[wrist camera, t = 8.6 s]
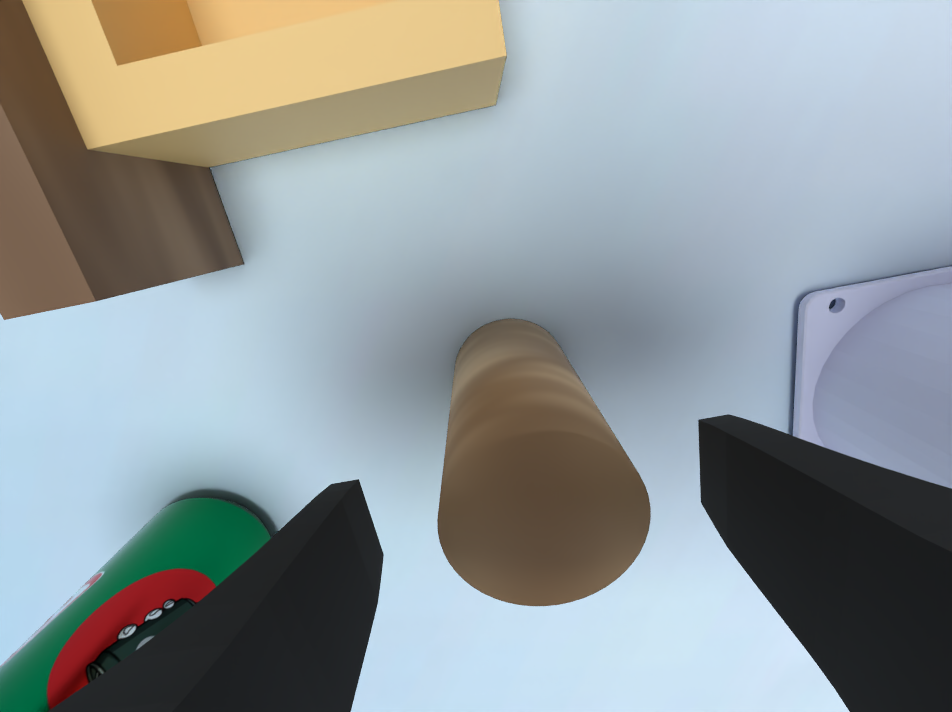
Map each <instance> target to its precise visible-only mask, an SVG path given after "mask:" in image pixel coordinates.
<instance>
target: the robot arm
mask: <svg viewBox="0 0 952 712" xmlns="http://www.w3.org/2000/svg"><path fill="white" fill-rule="evenodd" d="M833 299H836V303H835V306H834V307H833V308H832V309H830V310H829V305H830V302H831V301H832V300H833ZM698 422H699V454H700V486H701V503H702V505H703V507H704V508H705V510H706V512H707V514H708V515H709V517H710V519H711V521H712V522H713V524H714V526H715V528H716V529H717V531H718V532H719V534H720V536H721V537H722V539H723V541H724V542H725V544H726V546H727V547H728V548H729V550H730V551H731V553H732V554H733V555H734V557H735V558H736V559H737V561H738V562H739V563H740V564H741V566H742V567H743V568H744V570H745V571H746V572H747V574H748V575H749V576H750V578H751V579H752V580H753V582H754V583H755V584H756V585H757V587H758V588H759V589H760V591H761V592H762V593H763V595H764V596H765V597H766V598H767V600H768V601H769V602H770V604H771V605H772V606H773V607H774V609H775V610H776V611H777V613H778V614H779V615H780V616H781V618H782V619H783V620H784V622H785V623H786V624H787V626H788V627H789V628H790V629H791V631H792V632H793V633H794V635H795V636H796V637H797V638H798V640H799V641H800V642H801V644H802V645H803V646H804V648H805V649H806V650H807V651H808V653H809V654H810V655H811V657H812V658H813V659H814V661H815V662H816V663H817V665H818V666H819V668H820V669H821V670H822V672H823V673H824V674H825V676H826V677H827V679H828V680H829V681H830V683H831V684H832V686H833V687H834V688H835V690H836V691H837V693H838V694H839V696H840V697H841V699H842V701H843V702H844V704H845V705H846V707H847V708H848V710H849V711H850V712H952V266H950V267H944V268H939V269H934V270H928V271H923V272H918V273H912V274H907V275H901V276H896V277H891V278H885V279H880V280H875V281H869V282H864V283H858V284H853V285H848V286H842V287H837V288H832V289H826V290H821V291H815V292H812V293H810V294H808V295H807V296H805V297H804V298H803V300H802V301H801V303H800V305H799V312H798V334H797V356H796V377H795V399H794V420H793V436H792V435H789V434H786V433H783V432H781V431H778V430H775V429H772V428H770V427H767V426H764V425H761V424H758V423H755V422H752V421H749V420H746V419H743V418H740V417H736V416H732V415H723V416H717V417H712V418H706V419H700V420H698ZM382 565H383V552H382V549H381V546H380V542H379V539H378V536H377V533H376V530H375V527H374V524H373V521H372V518H371V515H370V512H369V509H368V506H367V503H366V500H365V497H364V494H363V491H362V488H361V485H360V482H359V479H358V480H352V481H347V482H341V483H335V484H331V485H330V486H328V487H327V488H326V489H325V490H323V491H322V492H321V493H320V494H319V495H317V496H316V497H315V498H314V499H313V500H312V501H311V502H310V503H309V504H307V505H306V506H305V507H304V508H303V509H302V510H301V511H300V512H299V513H298V514H297V515H296V516H295V517H294V518H292V519H291V520H290V521H289V522H288V523H287V524H286V525H285V526H284V527H283V528H282V529H281V530H280V531H278V532H277V533H276V534H275V535H274V536H273V537H272V538H271V539H270V540H269V541H268V542H267V543H265V544H264V545H263V546H262V547H261V548H260V549H259V550H258V551H257V552H256V553H255V554H253V555H252V556H251V557H250V558H249V559H248V560H247V561H245V562H244V563H243V564H242V565H241V566H240V567H239V568H237V569H236V570H235V571H234V572H233V573H232V574H230V575H229V576H228V577H227V578H226V579H225V580H224V581H222V582H221V583H220V584H219V585H218V586H217V587H215V588H214V589H213V590H212V591H211V592H210V593H209V594H207V595H206V596H205V597H204V598H203V599H201V600H200V601H199V602H198V603H196V604H195V605H194V606H193V607H192V608H190V609H189V610H188V611H187V612H185V613H184V614H183V615H182V616H180V617H179V618H178V619H177V620H175V621H174V622H173V623H171V624H170V625H169V626H167V627H166V628H165V629H163V630H162V631H161V632H160V633H158V634H157V635H156V636H154V637H153V638H152V639H150V640H149V641H148V642H146V643H145V644H144V645H142V646H141V647H140V648H138V649H137V650H136V651H134V652H133V653H132V654H130V655H129V656H127V657H126V658H125V659H123V660H122V661H120V662H119V663H118V664H116V665H115V666H113V667H112V668H110V669H109V670H107V671H106V672H104V673H103V674H102V675H100V676H99V677H97V678H96V679H94V680H93V681H91V682H90V683H88V684H87V685H86V686H84V687H83V688H81V689H80V690H78V691H77V692H75V693H74V694H72V695H71V696H70V697H68V698H67V699H65V700H64V701H62V702H61V703H59V704H58V705H56V706H55V707H54V708H52V709H51V710H49V711H48V712H350V711H351V708H352V704H353V700H354V696H355V692H356V688H357V684H358V680H359V676H360V672H361V668H362V664H363V660H364V656H365V653H366V649H367V645H368V641H369V637H370V633H371V628H372V624H373V620H374V616H375V612H376V608H377V604H378V597H379V590H380V582H381V574H382Z"/></svg>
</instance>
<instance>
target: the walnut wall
mask: <svg viewBox="0 0 952 712" xmlns="http://www.w3.org/2000/svg"><path fill="white" fill-rule="evenodd" d="M243 264H244V263H243V260H242V257H241V255H240V252H239V249H238V246H237V244H236V241H235V238H234V235H233V232H232V230H231V227H230V224H229V221H228V219H227V216H226V213H225V210H224V208H223V205H222V202H221V199H220V196H219V194H218V191H217V188H216V185H215V183H214V180H213V177H212V174H211V172H210V169H209V167H202V166H195V165H189V164H182V163H175V162H168V161H162V160H155V159H148V158H142V157H135V156H128V155H121V154H115V153H108V152H101V151H95V150H88V149H87V147H86V145H85V143H84V140H83V138H82V136H81V134H80V131H79V129H78V127H77V124H76V122H75V120H74V118H73V115H72V113H71V111H70V108H69V106H68V104H67V102H66V99H65V97H64V95H63V93H62V90H61V88H60V86H59V83H58V81H57V79H56V77H55V74H54V72H53V70H52V67H51V65H50V63H49V61H48V58H47V56H46V54H45V52H44V49H43V47H42V45H41V42H40V40H39V38H38V36H37V33H36V31H35V29H34V26H33V24H32V22H31V20H30V17H29V15H28V13H27V11H26V8H25V6H24V4H23V1H22V0H0V313H1V315H2V317H3V319H4V320H6V319H11V318H16V317H21V316H26V315H31V314H35V313H40V312H45V311H50V310H55V309H60V308H65V307H70V306H75V305H80V304H85V303H90V302H95V301H99V300H103V299H107V298H111V297H115V296H119V295H123V294H127V293H131V292H135V291H139V290H143V289H147V288H151V287H155V286H159V285H163V284H167V283H171V282H175V281H179V280H183V279H187V278H191V277H195V276H199V275H203V274H207V273H211V272H215V271H219V270H223V269H227V268H231V267H235V266H239V265H243Z"/></svg>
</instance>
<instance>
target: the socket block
mask: <svg viewBox="0 0 952 712" xmlns="http://www.w3.org/2000/svg"><path fill="white" fill-rule="evenodd" d="M22 1H23V4H24V6H25V8H26V11H27V13H28V15H29V17H30V20H31V22H32V24H33V26H34V29H35V31H36V33H37V36H38V38H39V40H40V42H41V45H42V47H43V49H44V52H45V54H46V56H47V58H48V61H49V63H50V65H51V67H52V70H53V72H54V74H55V77H56V79H57V81H58V83H59V86H60V88H61V90H62V93H63V95H64V97H65V99H66V102H67V104H68V106H69V108H70V111H71V113H72V115H73V118H74V120H75V122H76V124H77V127H78V129H79V131H80V134H81V136H82V138H83V140H84V143H85V145H86V147H87V149H88V150H95V151H101V152H108V153H115V154H121V155H128V156H135V157H142V158H148V159H155V160H162V161H168V162H175V163H182V164H189V165H195V166H202V167H214V166H218V165H223V164H228V163H232V162H237V161H241V160H246V159H251V158H255V157H260V156H264V155H269V154H274V153H278V152H283V151H287V150H292V149H297V148H301V147H306V146H310V145H315V144H320V143H324V142H329V141H333V140H338V139H342V138H347V137H352V136H356V135H361V134H365V133H370V132H375V131H379V130H384V129H388V128H393V127H398V126H402V125H407V124H411V123H416V122H421V121H425V120H430V119H434V118H439V117H444V116H448V115H453V114H457V113H462V112H466V111H471V110H476V109H480V108H485V107H489V106H494V105H496V101H497V97H498V92H499V88H500V83H501V79H502V74H503V70H504V65H505V61H506V56H507V55H506V48H505V41H504V34H503V27H502V21H501V14H500V7H499V0H22Z"/></svg>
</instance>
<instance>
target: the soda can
mask: <svg viewBox="0 0 952 712" xmlns="http://www.w3.org/2000/svg"><path fill="white" fill-rule="evenodd" d="M270 539H271V536H270V534H269V532H268V530H267V528H266V527H265V526H264V524H263V523H262V521H261V520H260V519H259V518H258V517H257V516H256V515H255V514H253V513H252V512H251V511H250V510H248V509H246V508H245V507H243V506H241V505H239V504H237V503H234V502H231V501H228V500H224V499H219V498H207V497H204V498H189V499H185V500H180V501H177V502H175V503H172V504H170V505H168V506H167V507H165V508H163V509H162V510H161V511H160V512H159V513H157V514H156V515H155V516H154V517H153V518H152V519H151V520H150V521H149V522H148V523H147V524H146V525H145V526H144V527H143V528H142V529H141V530H140V531H139V532H138V533H137V534H136V535H135V536H134V537H133V538H132V539H131V540H130V541H129V542H127V543H126V544H125V545H124V546H123V547H122V548H121V549H120V550H119V551H118V552H117V553H116V554H115V555H114V556H113V557H112V558H111V559H110V560H109V561H108V562H107V563H106V564H105V565H104V566H103V567H102V568H101V569H100V570H99V571H98V572H97V573H96V574H95V575H94V576H92V577H91V578H90V579H89V580H88V581H87V582H86V583H85V584H84V585H83V586H82V587H81V588H80V589H79V590H78V591H77V592H76V593H75V594H74V595H73V596H72V597H71V598H70V599H69V600H68V601H67V602H66V603H65V604H64V605H63V606H62V607H61V608H60V609H59V610H57V611H56V612H55V613H54V614H53V615H52V616H51V617H50V618H49V619H48V620H47V621H46V622H45V623H44V624H43V625H42V626H41V627H40V628H39V629H38V630H37V631H36V632H35V633H34V634H33V635H32V636H31V637H30V638H29V639H28V640H27V641H26V642H25V643H24V644H23V645H21V646H20V647H19V648H18V649H17V650H16V651H15V652H14V653H13V654H12V655H11V656H10V657H9V658H8V659H7V660H6V661H5V662H4V663H3V664H2V665H1V666H0V712H48V711H49V710H51V709H52V708H54V707H55V706H56V705H58V704H59V703H61V702H62V701H64V700H65V699H67V698H68V697H70V696H71V695H72V694H74V693H75V692H77V691H78V690H80V689H81V688H83V687H84V686H86V685H87V684H88V683H90V682H91V681H93V680H94V679H96V678H97V677H99V676H100V675H102V674H103V673H104V672H106V671H107V670H109V669H110V668H112V667H113V666H115V665H116V664H118V663H119V662H120V661H122V660H123V659H125V658H126V657H127V656H129V655H130V654H132V653H133V652H134V651H136V650H137V649H138V648H140V647H141V646H142V645H144V644H145V643H146V642H148V641H149V640H150V639H152V638H153V637H154V636H156V635H157V634H158V633H160V632H161V631H162V630H163V629H165V628H166V627H167V626H169V625H170V624H171V623H173V622H174V621H175V620H177V619H178V618H179V617H180V616H182V615H183V614H184V613H185V612H187V611H188V610H189V609H190V608H192V607H193V606H194V605H195V604H196V603H198V602H199V601H200V600H201V599H203V598H204V597H205V596H206V595H207V594H209V593H210V592H211V591H212V590H213V589H214V588H215V587H217V586H218V585H219V584H220V583H221V582H222V581H224V580H225V579H226V578H227V577H228V576H229V575H230V574H232V573H233V572H234V571H235V570H236V569H237V568H239V567H240V566H241V565H242V564H243V563H244V562H245V561H247V560H248V559H249V558H250V557H251V556H252V555H253V554H255V553H256V552H257V551H258V550H259V549H260V548H261V547H262V546H263V545H264V544H265V543H267V542H268V541H269V540H270Z"/></svg>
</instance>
